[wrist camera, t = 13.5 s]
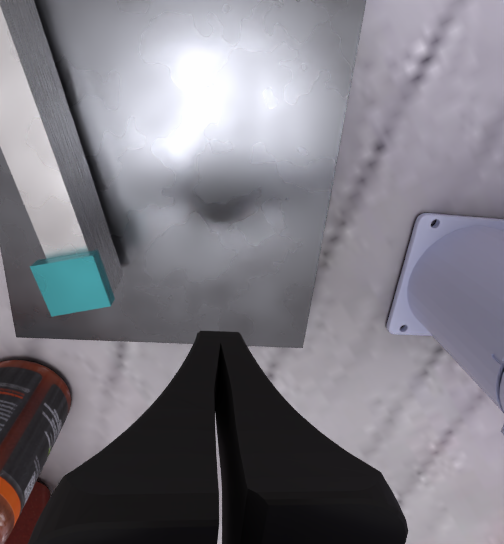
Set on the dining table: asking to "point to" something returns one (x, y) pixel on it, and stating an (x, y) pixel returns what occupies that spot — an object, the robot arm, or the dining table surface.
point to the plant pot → (29, 515)
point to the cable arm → (52, 170)
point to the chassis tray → (196, 162)
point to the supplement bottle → (26, 431)
